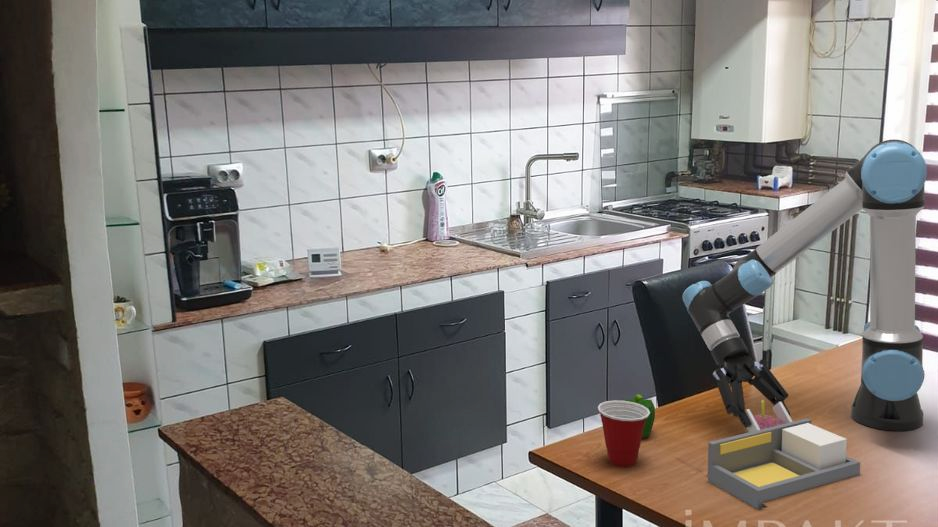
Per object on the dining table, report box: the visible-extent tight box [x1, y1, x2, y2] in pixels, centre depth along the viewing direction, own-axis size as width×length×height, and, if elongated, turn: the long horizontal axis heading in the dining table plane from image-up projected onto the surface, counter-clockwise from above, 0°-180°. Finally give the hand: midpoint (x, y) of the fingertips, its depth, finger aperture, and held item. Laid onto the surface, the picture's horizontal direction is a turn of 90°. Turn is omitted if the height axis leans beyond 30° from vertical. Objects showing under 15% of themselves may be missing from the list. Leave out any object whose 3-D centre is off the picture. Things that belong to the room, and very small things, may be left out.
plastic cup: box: [597, 400, 650, 468], centre depth 187 cm, size 11×11×12 cm
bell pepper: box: [620, 394, 656, 439], centre depth 201 cm, size 8×8×10 cm
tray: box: [707, 417, 861, 510], centre depth 175 cm, size 26×14×8 cm, turn 115°
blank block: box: [782, 423, 848, 470], centre depth 178 cm, size 7×10×7 cm
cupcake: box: [743, 397, 783, 433], centre depth 191 cm, size 9×8×12 cm
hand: (775, 435), depth 188 cm, fingers closed on cupcake, 8 cm apart
